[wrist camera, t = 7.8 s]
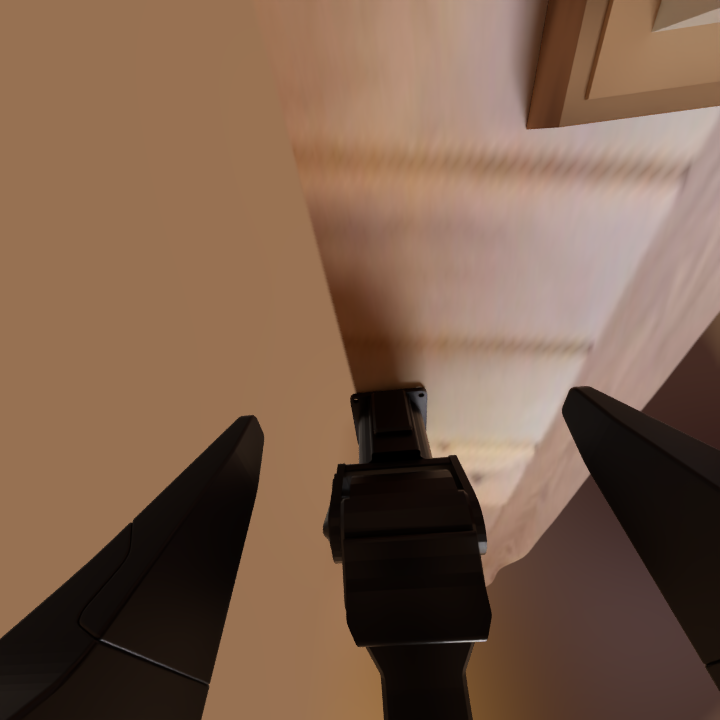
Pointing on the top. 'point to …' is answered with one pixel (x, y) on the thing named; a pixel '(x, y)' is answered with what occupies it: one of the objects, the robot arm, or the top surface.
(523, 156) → the top surface
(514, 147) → the top surface
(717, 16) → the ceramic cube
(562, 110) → the walnut plinth
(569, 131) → the top surface
